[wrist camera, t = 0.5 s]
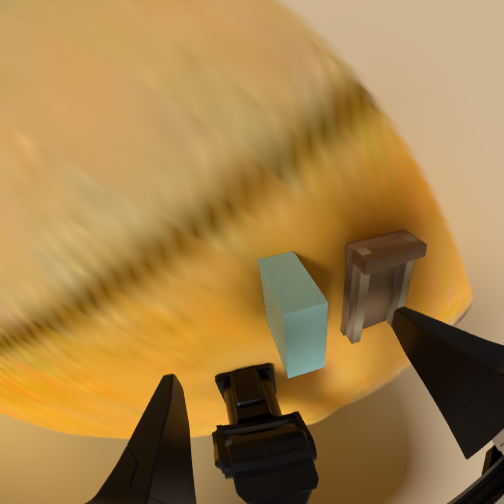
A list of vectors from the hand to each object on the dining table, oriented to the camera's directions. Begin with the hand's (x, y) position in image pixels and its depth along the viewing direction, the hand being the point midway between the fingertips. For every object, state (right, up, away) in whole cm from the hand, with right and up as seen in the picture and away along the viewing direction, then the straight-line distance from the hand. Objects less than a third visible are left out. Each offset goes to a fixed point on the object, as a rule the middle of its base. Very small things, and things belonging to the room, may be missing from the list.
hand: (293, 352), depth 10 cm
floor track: (+11, 0, +17) cm, 20 cm away
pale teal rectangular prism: (+1, 0, +15) cm, 15 cm away
